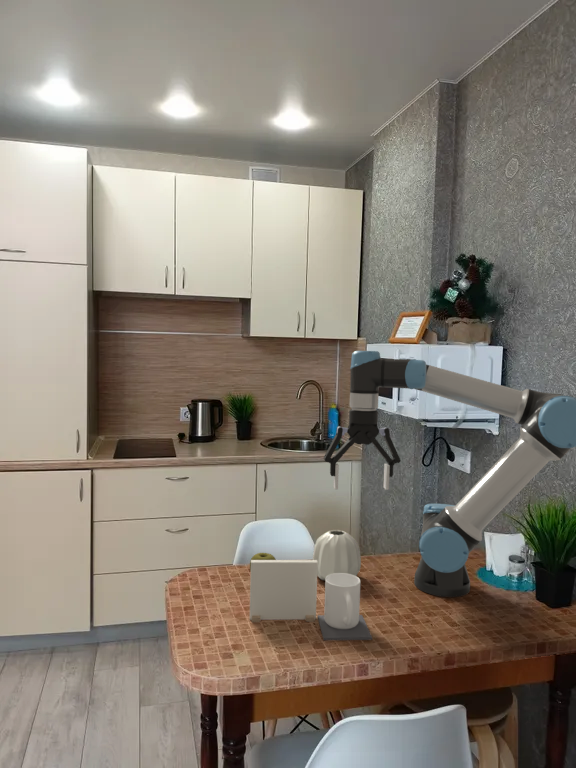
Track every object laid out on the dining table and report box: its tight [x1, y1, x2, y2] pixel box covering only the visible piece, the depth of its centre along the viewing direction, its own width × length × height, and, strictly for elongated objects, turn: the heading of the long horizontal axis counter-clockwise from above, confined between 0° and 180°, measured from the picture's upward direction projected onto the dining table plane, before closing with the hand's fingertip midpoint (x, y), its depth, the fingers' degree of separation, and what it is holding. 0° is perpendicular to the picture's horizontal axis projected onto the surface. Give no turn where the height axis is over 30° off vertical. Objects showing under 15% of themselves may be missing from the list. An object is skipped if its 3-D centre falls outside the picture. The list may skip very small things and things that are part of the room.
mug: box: [323, 573, 361, 629], centre depth 133 cm, size 12×8×10 cm
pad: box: [317, 614, 373, 641], centre depth 133 cm, size 11×11×1 cm
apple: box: [249, 552, 277, 572], centre depth 161 cm, size 8×8×7 cm
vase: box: [312, 529, 362, 581], centre depth 163 cm, size 14×14×13 cm
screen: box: [249, 559, 318, 623], centre depth 137 cm, size 16×4×14 cm, turn 94°
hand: (360, 488), depth 151 cm, fingers open, 13 cm apart
